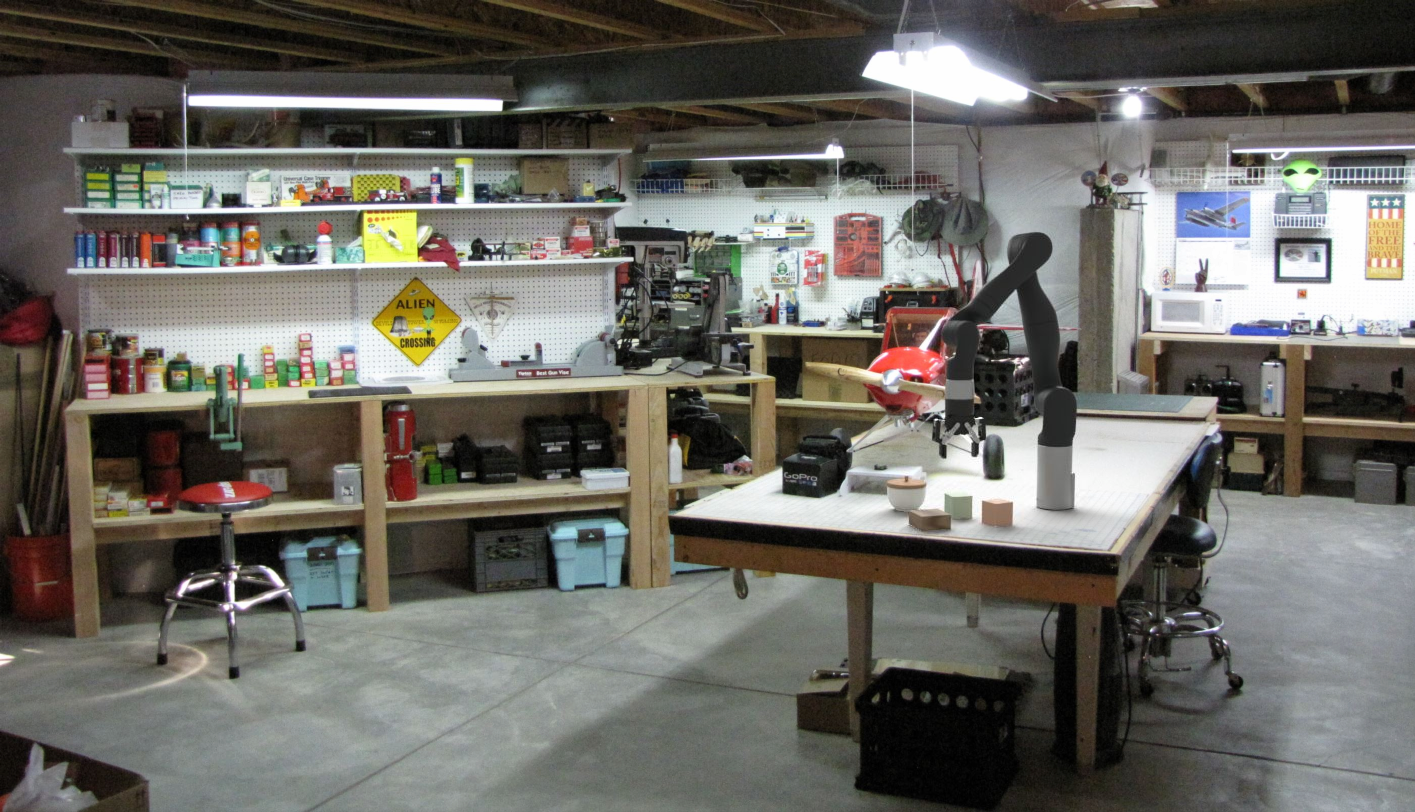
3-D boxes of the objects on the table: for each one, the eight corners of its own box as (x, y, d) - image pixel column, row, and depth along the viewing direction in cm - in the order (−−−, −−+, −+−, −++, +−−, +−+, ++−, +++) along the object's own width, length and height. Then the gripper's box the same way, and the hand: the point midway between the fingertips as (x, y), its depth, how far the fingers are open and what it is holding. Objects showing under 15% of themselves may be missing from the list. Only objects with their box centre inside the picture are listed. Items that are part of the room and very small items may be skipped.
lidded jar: (879, 507, 338) (879, 474, 337) (913, 504, 342) (913, 471, 341) (898, 515, 328) (899, 480, 327) (933, 511, 332) (934, 477, 331)
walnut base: (937, 523, 318) (937, 508, 318) (950, 530, 310) (950, 514, 310) (908, 525, 316) (908, 510, 316) (921, 532, 308) (921, 516, 308)
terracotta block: (998, 521, 319) (998, 498, 319) (1012, 524, 315) (1012, 501, 314) (981, 523, 317) (982, 500, 316) (995, 527, 312) (995, 504, 311)
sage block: (963, 514, 329) (964, 492, 328) (972, 518, 323) (972, 495, 322) (944, 515, 327) (944, 493, 327) (952, 519, 322) (952, 497, 321)
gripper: (979, 394, 327) (978, 454, 329) (928, 395, 324) (928, 456, 326) (991, 397, 319) (990, 458, 321) (939, 398, 317) (938, 461, 318)
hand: (958, 457), depth 323 cm, fingers open, 8 cm apart
